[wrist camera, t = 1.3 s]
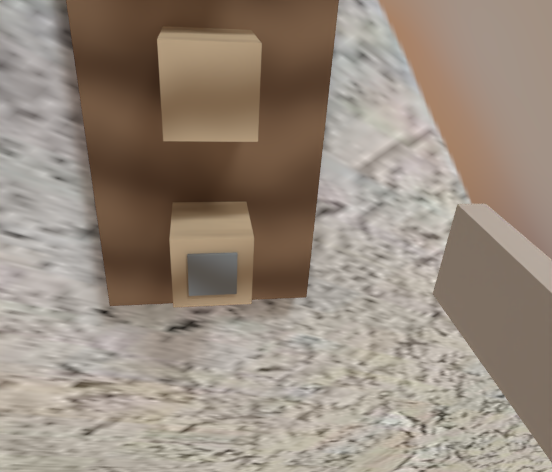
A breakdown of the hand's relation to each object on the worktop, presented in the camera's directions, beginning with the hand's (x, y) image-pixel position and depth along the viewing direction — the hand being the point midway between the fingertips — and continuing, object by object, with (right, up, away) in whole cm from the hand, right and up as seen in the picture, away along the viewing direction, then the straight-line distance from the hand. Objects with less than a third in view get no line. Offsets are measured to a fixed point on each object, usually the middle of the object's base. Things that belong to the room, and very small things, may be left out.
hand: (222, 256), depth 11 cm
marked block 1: (-3, +1, +23) cm, 23 cm away
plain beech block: (-3, +10, +17) cm, 20 cm away
